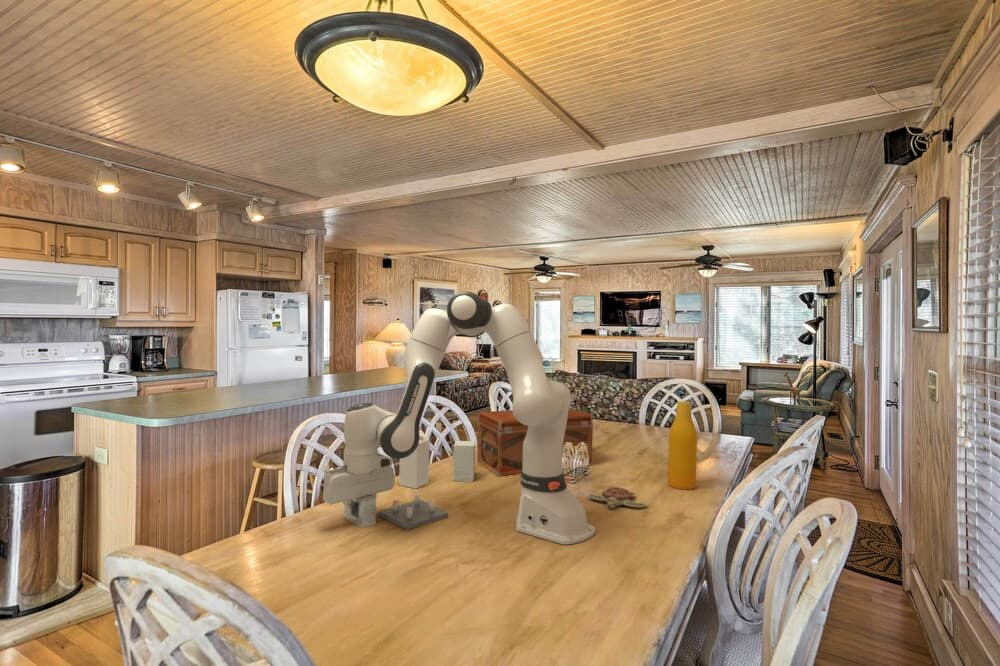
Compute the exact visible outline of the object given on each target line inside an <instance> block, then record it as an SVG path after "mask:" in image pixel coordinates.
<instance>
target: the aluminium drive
mask: <svg viewBox="0 0 1000 666" xmlns="http://www.w3.org/2000/svg"><path fill="white" fill-rule="evenodd" d="M376 504H377V498H376V499H375V498H373V497H371V496H369V495H368V496H364V497H360V498H356V499H352V500H351V504H349V505H350V507H353V508H354V509H355V511H354V515H351V516H348V515H347V508H346V507H345V506H344V507H343V509H344V513H343V516H344V518H345V519H346V520H348V521H350V522H351V523H353V524H354V525H356V526H358V527H360V528H362V529H364V528H367V527H370V526H375V525H376V519H377V518H376V516H377V515H376V511H377V510H376V507H377V505H376Z"/></svg>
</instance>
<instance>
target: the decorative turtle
mask: <svg viewBox="0 0 1000 666" xmlns="http://www.w3.org/2000/svg"><path fill="white" fill-rule="evenodd" d="M635 496H636V493H635V492H633V491H629V490H628V489H625V488H624V487H620V486H619V487H618V486H611V487H609V488H607V489H606V490H604V491H602V492H601V495H600V494H599V495H597V494H596V493H595V492H592V491H590V492H589V493H588V495H587V497H588V498H589V499H591V500H596V501H600V502H606V506H607V508H608V509H614V508H616V507H618V506H627V507H633V508H639V509H640V508H644V507H645V506H646V505H647V502H646V501H632V500H631V498H633V497H635Z"/></svg>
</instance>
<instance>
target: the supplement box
mask: <svg viewBox="0 0 1000 666" xmlns="http://www.w3.org/2000/svg"><path fill="white" fill-rule="evenodd" d="M452 455H453V459H452V461H453V462H452V463H453V464H452V468H453V469H452V481H453V482H466V483H467V482H468V483H472V482H474V479H475V474H476V473H475V471H476V468H475V467H476V440H474V441H473V440H456V441H455V442H454V444H453V454H452Z"/></svg>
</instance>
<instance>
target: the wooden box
mask: <svg viewBox="0 0 1000 666" xmlns="http://www.w3.org/2000/svg"><path fill="white" fill-rule="evenodd" d="M477 413H478V414H477V415H478V416H477V417H478V418H477V420H478V421H477V464H479V466H481V465H482V466H481V467H483V468H484V467H485V468H484V469H485V470H487V469H488V470H487V471H489V472H490V473H492V474H493V475H494V474H495V476H496V477H497V476H498V477H497V478H502V477H501V476H505V477H510V476H509V475H513V476H517V475H516V474H521V470H522V462H523V442H524V439H525V437H526V434H527V430H528V426H526V425H523V424H522V423H520V422H519V421H518V420H517V419H516V417H515V416H514V413H513V409H512V410H511V409H509V410H497V411H478V412H477ZM593 423H594V414H590V413H587V412H584V411H581V410H578V409H574V408H570V407H569V410H568V417H567V424H566V429H565V434H564V440H563V444H564V443H565V442H572V443H573V445H574V446H577V445H578V444H579V443H581V442H584V443H586V444H587V446H588V450H589V465H590V466H589V467H592V466H593V438H594V437H593V436H594V435H593V433H594V430H593V429H594V424H593Z"/></svg>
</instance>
